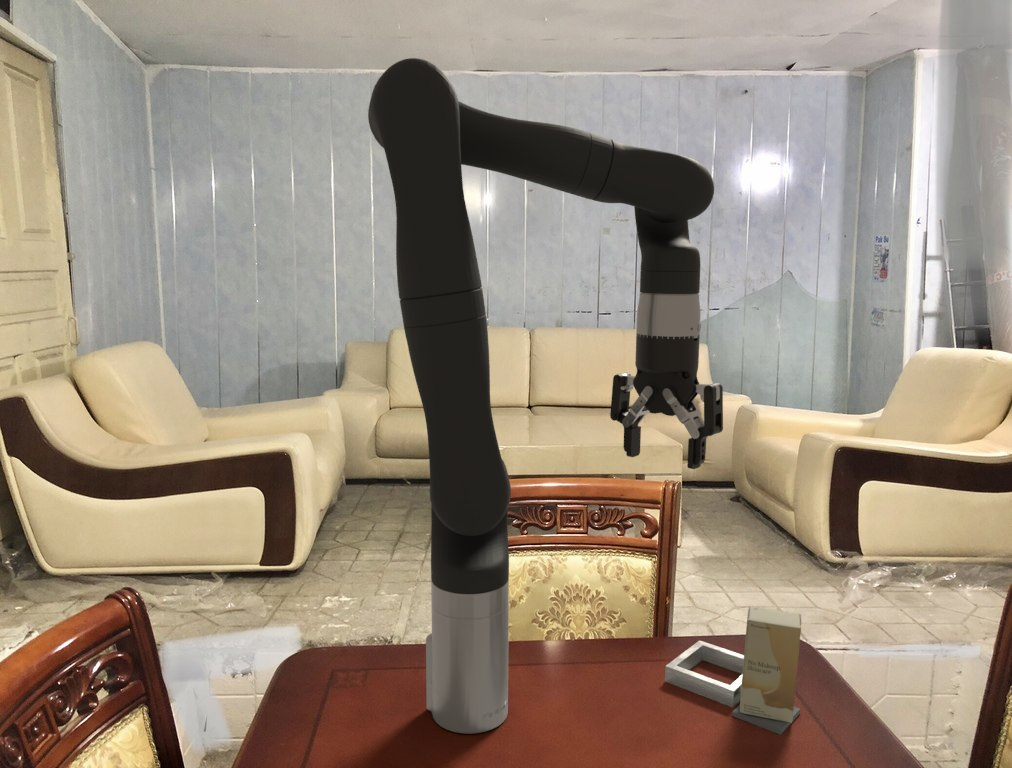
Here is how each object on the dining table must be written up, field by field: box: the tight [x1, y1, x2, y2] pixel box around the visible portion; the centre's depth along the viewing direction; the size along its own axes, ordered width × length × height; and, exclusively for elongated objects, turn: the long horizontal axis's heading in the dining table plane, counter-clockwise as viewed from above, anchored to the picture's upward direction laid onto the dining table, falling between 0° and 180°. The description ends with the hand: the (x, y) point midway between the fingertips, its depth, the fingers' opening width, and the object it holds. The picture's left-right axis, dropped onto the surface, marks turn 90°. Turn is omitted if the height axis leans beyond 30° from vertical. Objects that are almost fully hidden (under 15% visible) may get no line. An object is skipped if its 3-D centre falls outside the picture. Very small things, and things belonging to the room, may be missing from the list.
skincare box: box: [739, 605, 802, 724], centre depth 97 cm, size 6×4×12 cm
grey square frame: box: [664, 640, 744, 709], centre depth 106 cm, size 10×10×2 cm
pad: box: [732, 704, 801, 736], centre depth 98 cm, size 6×6×1 cm
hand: (663, 461), depth 100 cm, fingers open, 8 cm apart
